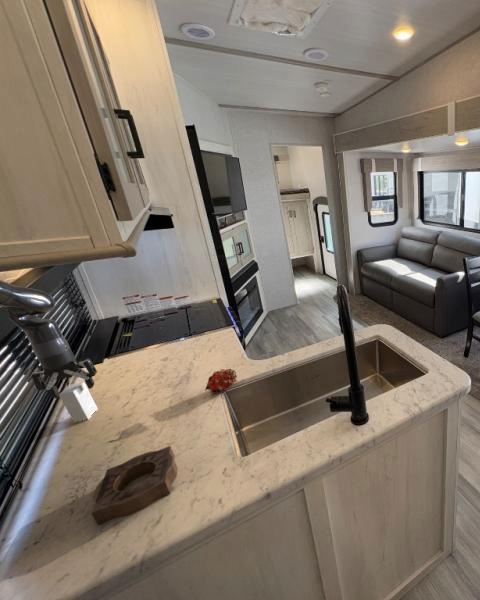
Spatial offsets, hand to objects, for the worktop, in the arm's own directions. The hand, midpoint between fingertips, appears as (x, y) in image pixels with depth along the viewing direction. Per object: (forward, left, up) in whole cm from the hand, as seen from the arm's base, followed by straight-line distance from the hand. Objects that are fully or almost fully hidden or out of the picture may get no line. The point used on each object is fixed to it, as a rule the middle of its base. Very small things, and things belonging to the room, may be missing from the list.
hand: (74, 392), depth 106 cm
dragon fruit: (+43, -12, -10) cm, 46 cm away
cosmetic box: (0, 0, -10) cm, 10 cm away
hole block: (+22, -48, -10) cm, 54 cm away
